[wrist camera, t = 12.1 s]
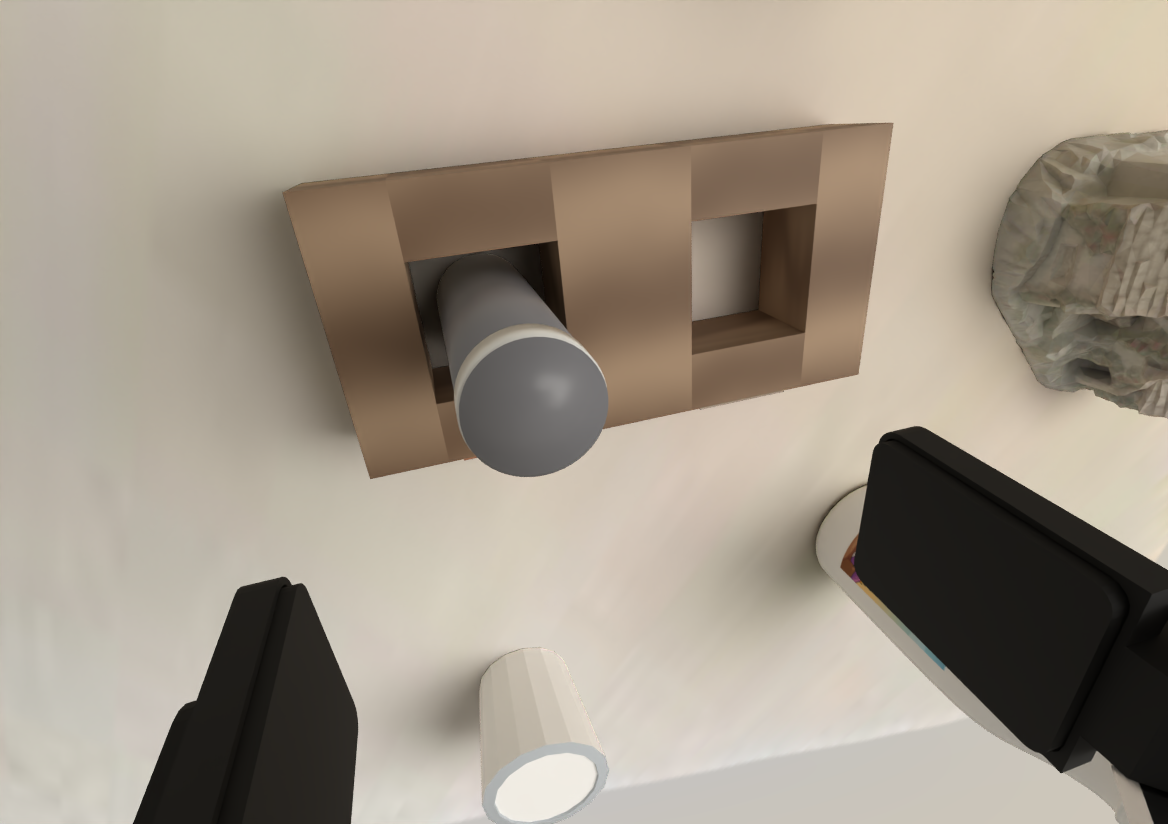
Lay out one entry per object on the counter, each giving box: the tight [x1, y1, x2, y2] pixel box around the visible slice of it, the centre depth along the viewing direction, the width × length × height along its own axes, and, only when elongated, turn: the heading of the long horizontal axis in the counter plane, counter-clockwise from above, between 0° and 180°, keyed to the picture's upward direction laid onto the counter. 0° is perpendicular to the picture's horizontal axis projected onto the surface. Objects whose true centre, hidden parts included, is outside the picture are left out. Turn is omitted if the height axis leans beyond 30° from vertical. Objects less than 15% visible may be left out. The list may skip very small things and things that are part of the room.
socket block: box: [283, 123, 893, 479], centre depth 25 cm, size 11×23×4 cm, turn 95°
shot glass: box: [479, 647, 609, 824], centre depth 33 cm, size 7×7×7 cm
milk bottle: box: [816, 485, 1129, 824], centre depth 30 cm, size 8×8×20 cm
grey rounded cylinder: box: [437, 253, 608, 477], centre depth 20 cm, size 4×4×12 cm
